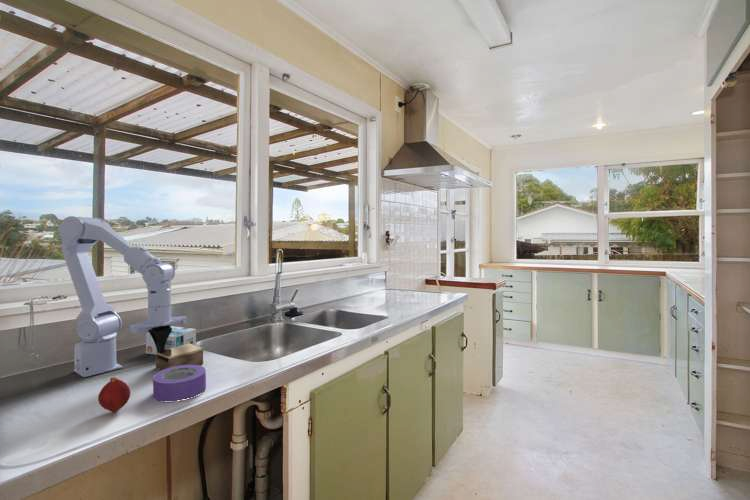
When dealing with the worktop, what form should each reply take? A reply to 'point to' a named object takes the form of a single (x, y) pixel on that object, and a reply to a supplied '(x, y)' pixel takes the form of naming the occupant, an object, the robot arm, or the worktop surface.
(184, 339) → the light bulb box
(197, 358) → the walnut box
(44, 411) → the worktop surface
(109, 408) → the onion
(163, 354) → the lid
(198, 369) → the tape roll
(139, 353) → the worktop surface
